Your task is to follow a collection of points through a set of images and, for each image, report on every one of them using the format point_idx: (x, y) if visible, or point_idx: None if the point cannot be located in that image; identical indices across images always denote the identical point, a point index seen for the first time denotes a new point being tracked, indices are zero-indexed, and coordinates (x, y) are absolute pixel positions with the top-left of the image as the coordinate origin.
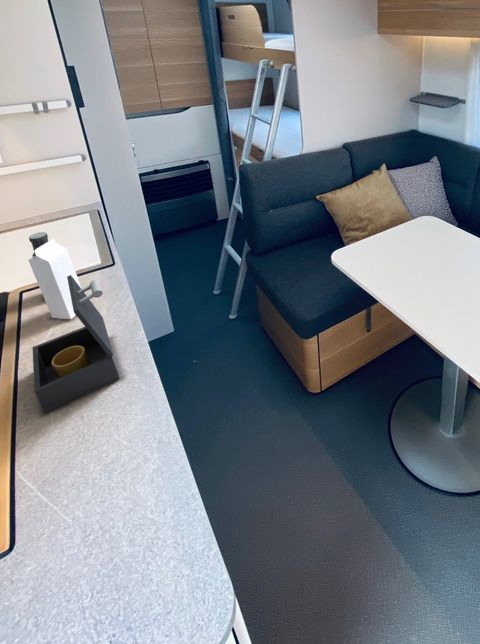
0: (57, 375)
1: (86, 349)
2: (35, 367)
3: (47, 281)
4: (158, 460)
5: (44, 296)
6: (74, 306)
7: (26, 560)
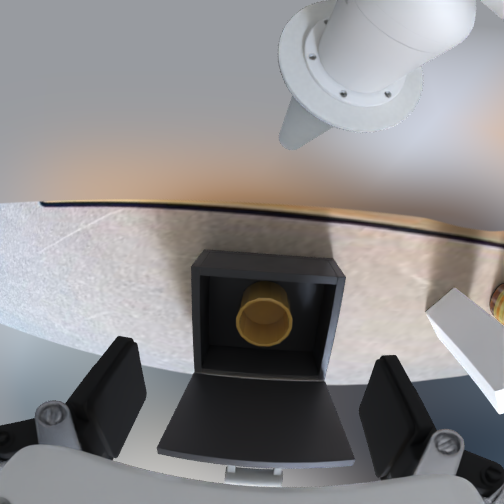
0: (257, 287)
1: (313, 326)
2: (268, 275)
3: (484, 344)
4: (60, 330)
5: (479, 309)
6: (180, 454)
7: (28, 215)
